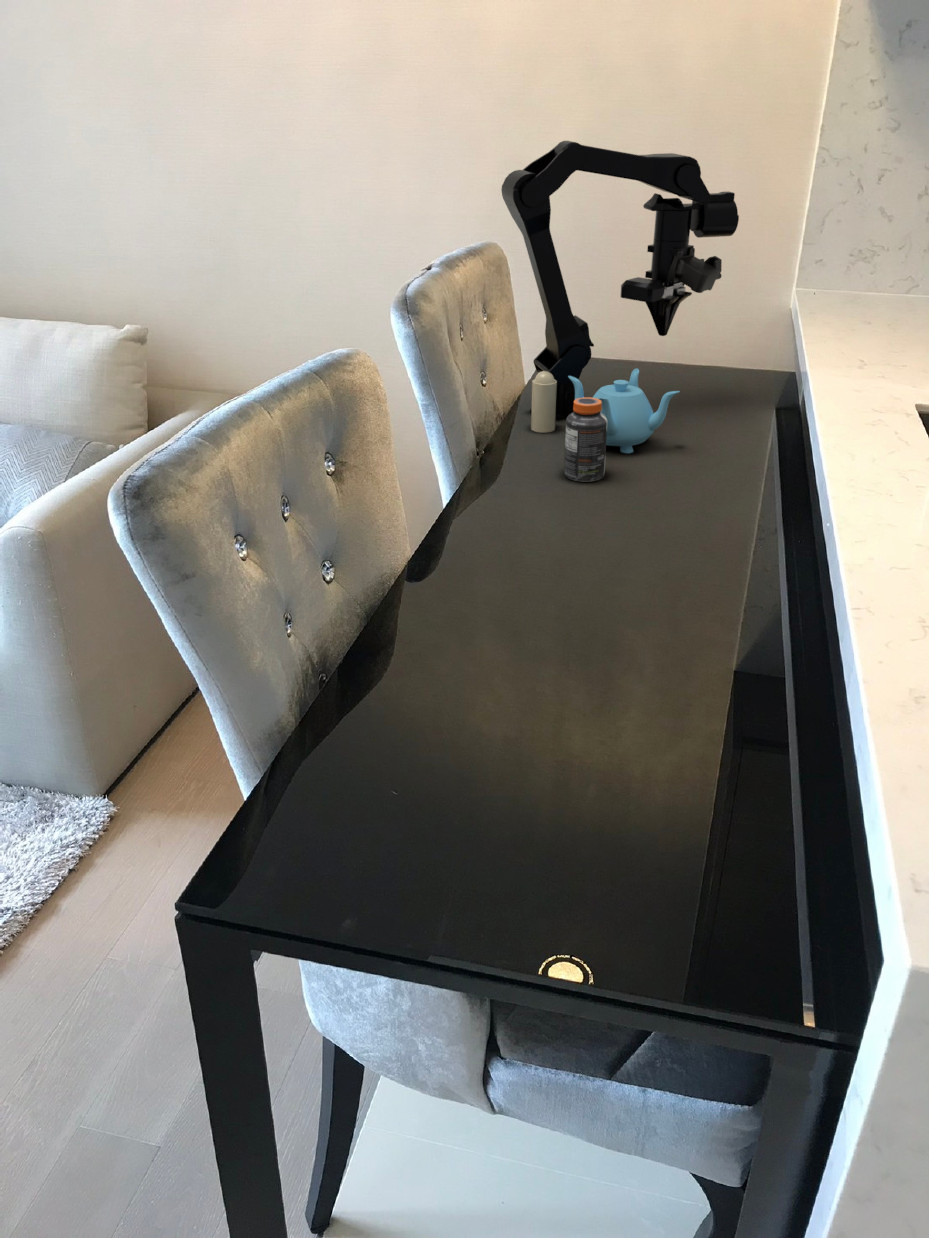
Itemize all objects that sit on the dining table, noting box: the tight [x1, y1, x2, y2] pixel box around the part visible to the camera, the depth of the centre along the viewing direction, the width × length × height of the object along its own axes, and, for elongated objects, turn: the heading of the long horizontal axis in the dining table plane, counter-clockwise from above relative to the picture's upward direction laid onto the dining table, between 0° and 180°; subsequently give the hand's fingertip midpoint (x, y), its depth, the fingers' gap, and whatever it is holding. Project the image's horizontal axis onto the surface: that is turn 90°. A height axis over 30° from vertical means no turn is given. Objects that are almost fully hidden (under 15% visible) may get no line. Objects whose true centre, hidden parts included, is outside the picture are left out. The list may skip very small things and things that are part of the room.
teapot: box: [568, 368, 680, 454], centre depth 156 cm, size 13×13×10 cm
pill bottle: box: [563, 396, 607, 483], centre depth 144 cm, size 6×6×11 cm
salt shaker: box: [530, 371, 557, 434], centre depth 163 cm, size 4×4×10 cm
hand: (662, 335), depth 171 cm, fingers closed
